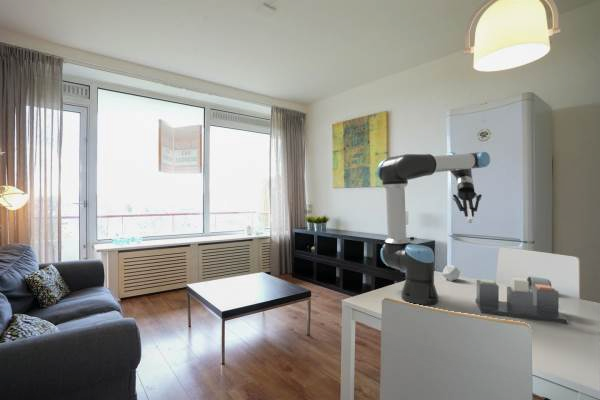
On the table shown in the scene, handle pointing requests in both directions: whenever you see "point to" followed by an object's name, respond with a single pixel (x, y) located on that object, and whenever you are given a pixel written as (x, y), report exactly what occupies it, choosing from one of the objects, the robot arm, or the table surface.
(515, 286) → the ivory button
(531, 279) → the ceramic mug
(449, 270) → the crumpled paper ball
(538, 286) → the terracotta button
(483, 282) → the sage button
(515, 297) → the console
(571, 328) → the table surface
